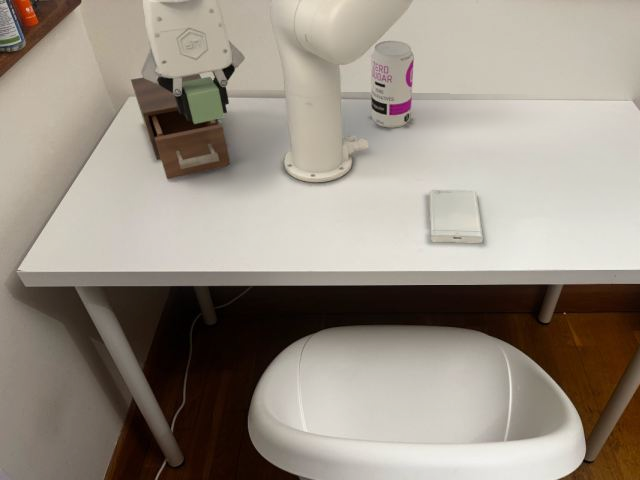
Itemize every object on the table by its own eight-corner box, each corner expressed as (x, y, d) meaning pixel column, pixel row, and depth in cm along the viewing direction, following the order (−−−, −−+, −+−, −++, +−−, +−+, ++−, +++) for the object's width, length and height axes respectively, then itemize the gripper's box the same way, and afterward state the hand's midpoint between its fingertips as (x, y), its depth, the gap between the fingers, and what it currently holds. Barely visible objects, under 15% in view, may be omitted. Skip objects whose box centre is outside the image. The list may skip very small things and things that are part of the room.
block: (216, 104, 87) (210, 76, 84) (224, 117, 84) (218, 88, 81) (187, 110, 86) (179, 82, 82) (194, 124, 83) (187, 95, 80)
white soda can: (412, 112, 121) (416, 41, 111) (407, 131, 115) (410, 58, 105) (375, 108, 122) (375, 37, 112) (368, 127, 116) (367, 54, 106)
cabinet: (223, 146, 110) (213, 99, 104) (156, 160, 106) (142, 112, 100) (206, 112, 120) (196, 68, 113) (144, 124, 116) (130, 79, 109)
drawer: (237, 179, 101) (230, 140, 95) (172, 194, 97) (160, 154, 92) (213, 131, 112) (205, 94, 107) (154, 143, 109) (143, 105, 103)
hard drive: (429, 189, 98) (431, 234, 89) (476, 190, 98) (483, 235, 89) (428, 197, 99) (431, 242, 91) (475, 198, 99) (482, 243, 91)
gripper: (109, -1, 67) (152, 137, 80) (247, -21, 72) (267, 111, 85) (100, -19, 71) (142, 114, 84) (231, -37, 77) (251, 91, 90)
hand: (205, 111), depth 85 cm, fingers closed on block, 4 cm apart
